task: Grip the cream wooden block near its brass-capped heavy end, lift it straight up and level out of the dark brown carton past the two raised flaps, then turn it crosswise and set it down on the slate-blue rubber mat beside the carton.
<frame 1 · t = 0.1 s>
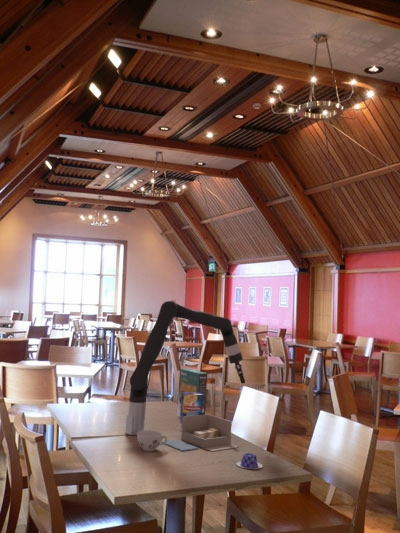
hand: (243, 382, 303), 31 cm above the table, tool tilted 20°, fingers open, 8 cm apart
teacup: (151, 450, 273), on the table
beverage box: (189, 433, 311), on the table
cake mix box: (190, 419, 348), on the table
mat: (179, 445, 283), on the table
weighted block: (204, 441, 293), point 1 cm above the table, touching carton
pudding: (249, 466, 255), on the table
carton: (205, 442, 293), on the table
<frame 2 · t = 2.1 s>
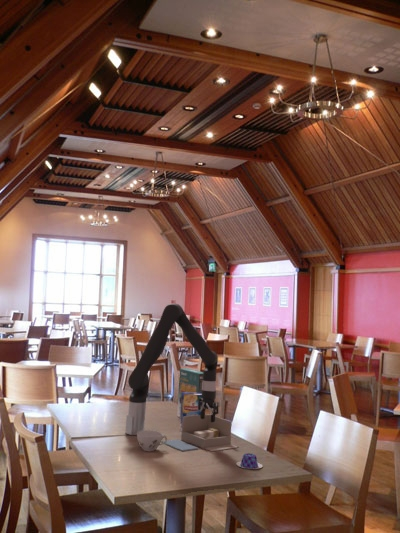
hand: (207, 420, 294), 11 cm above the table, tool pointing down, fingers open, 8 cm apart
nothing on the table moved.
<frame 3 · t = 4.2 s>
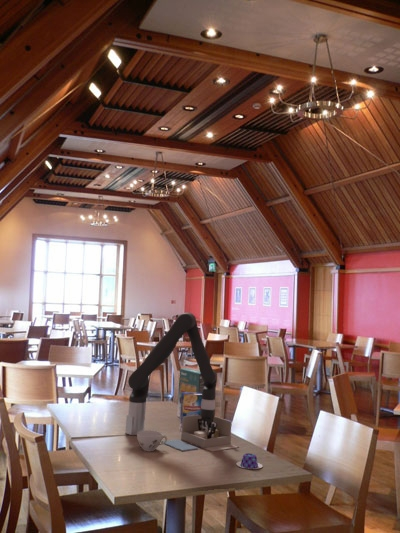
hand: (206, 440, 294), 1 cm above the table, tool pointing down, fingers closed on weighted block, 4 cm apart
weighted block: (204, 441, 293), point 1 cm above the table, touching carton, gripper
everything else where it was.
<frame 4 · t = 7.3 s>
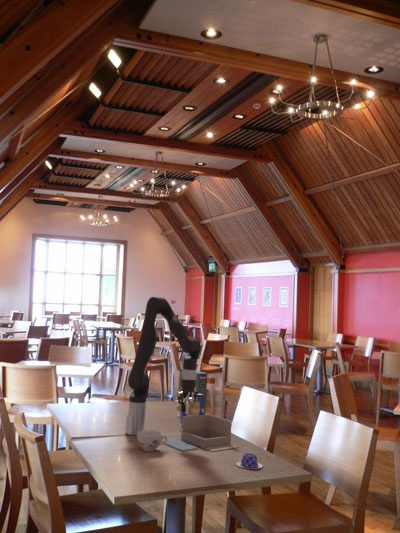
hand: (186, 411, 286), 17 cm above the table, tool pointing down, fingers closed on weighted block, 4 cm apart
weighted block: (185, 412, 286), point 17 cm above the table, touching gripper
everything else where it was.
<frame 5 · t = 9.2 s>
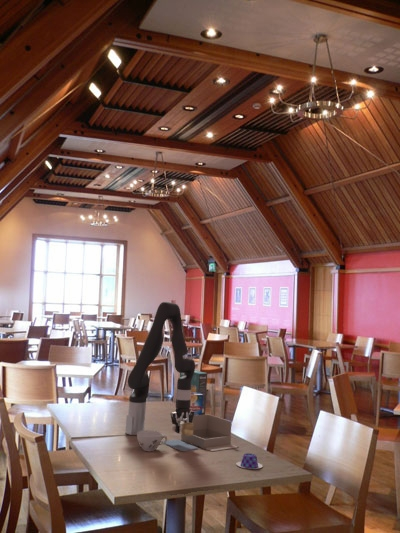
hand: (181, 432, 283), 7 cm above the table, tool pointing down, fingers closed on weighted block, 4 cm apart
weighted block: (180, 432, 284), point 7 cm above the table, touching gripper
everything else where it was.
when the fingers open (2 cm above the table, at t = 10.8 s): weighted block drops 1 cm, resting on mat.
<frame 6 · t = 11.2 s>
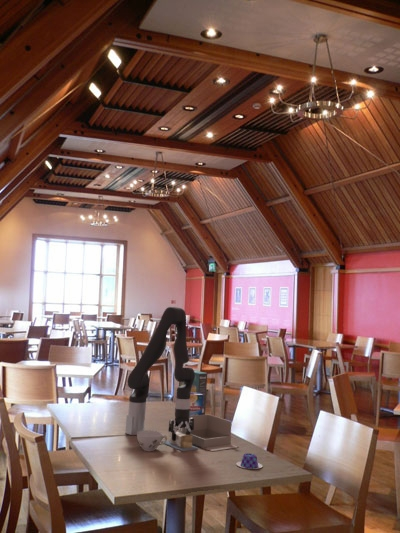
hand: (180, 439, 283), 3 cm above the table, tool pointing down, fingers open, 8 cm apart
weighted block: (179, 444, 283), point 1 cm above the table, touching mat
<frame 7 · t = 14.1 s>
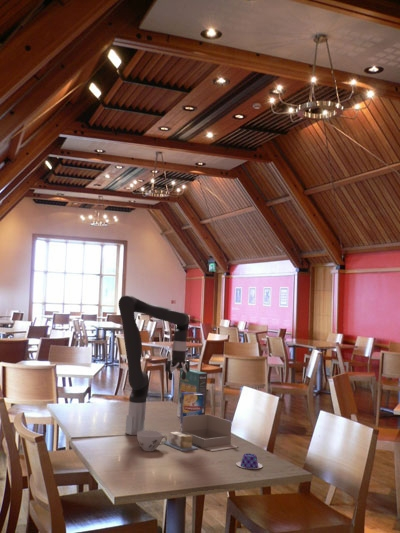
hand: (176, 379, 301), 31 cm above the table, tool pointing down, fingers open, 8 cm apart
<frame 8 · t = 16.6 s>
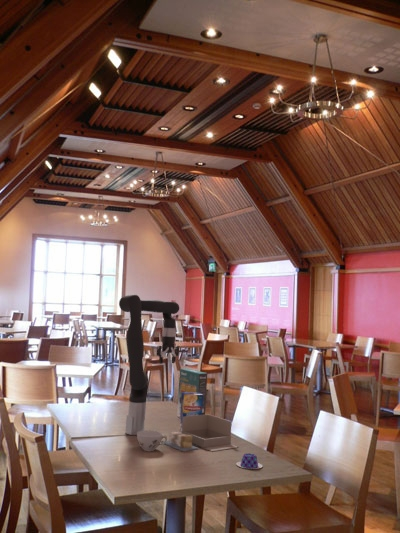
hand: (167, 363, 329), 36 cm above the table, tool pointing down, fingers open, 8 cm apart
at the end: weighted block inside the target area on the mat (0.1 cm from its centre), point 0.6 cm above the mat's base; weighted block tilted 0°; the gripper is holding nothing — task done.
